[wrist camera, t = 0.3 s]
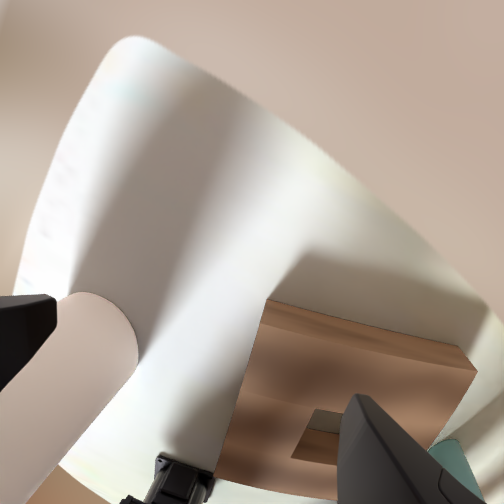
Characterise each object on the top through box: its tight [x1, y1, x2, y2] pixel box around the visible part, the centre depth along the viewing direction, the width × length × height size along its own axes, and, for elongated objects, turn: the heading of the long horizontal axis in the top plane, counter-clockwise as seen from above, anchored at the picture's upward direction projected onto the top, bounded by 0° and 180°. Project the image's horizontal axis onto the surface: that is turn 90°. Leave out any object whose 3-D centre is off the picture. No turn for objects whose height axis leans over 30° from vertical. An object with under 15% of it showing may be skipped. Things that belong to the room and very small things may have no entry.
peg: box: [428, 439, 485, 502], centre depth 19 cm, size 4×4×10 cm
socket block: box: [213, 299, 478, 501], centre depth 22 cm, size 16×16×4 cm
